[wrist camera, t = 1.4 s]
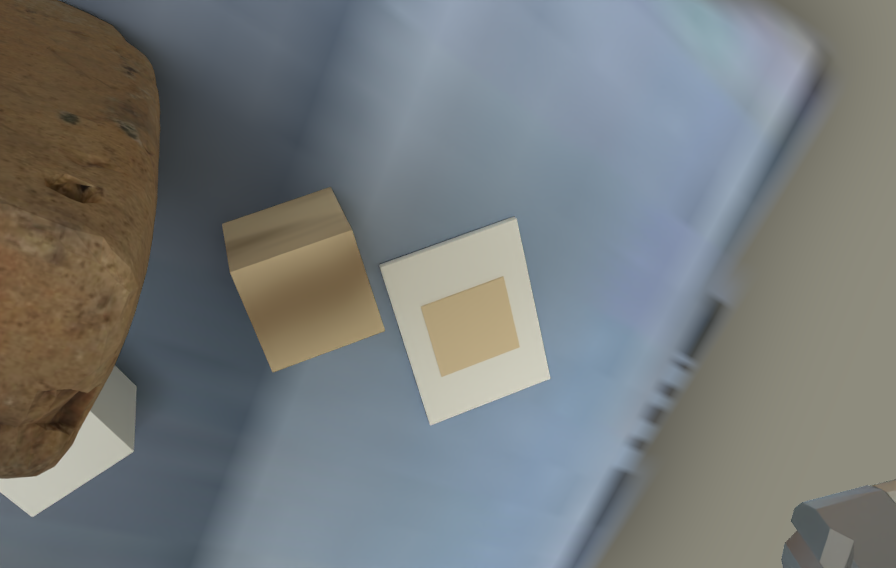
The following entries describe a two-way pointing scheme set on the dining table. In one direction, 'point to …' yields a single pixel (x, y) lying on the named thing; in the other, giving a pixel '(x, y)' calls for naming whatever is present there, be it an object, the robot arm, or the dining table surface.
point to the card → (468, 319)
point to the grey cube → (84, 449)
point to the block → (68, 219)
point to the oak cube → (301, 278)
